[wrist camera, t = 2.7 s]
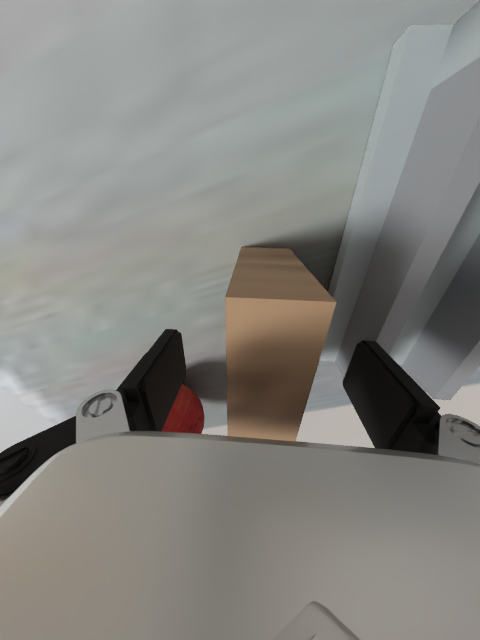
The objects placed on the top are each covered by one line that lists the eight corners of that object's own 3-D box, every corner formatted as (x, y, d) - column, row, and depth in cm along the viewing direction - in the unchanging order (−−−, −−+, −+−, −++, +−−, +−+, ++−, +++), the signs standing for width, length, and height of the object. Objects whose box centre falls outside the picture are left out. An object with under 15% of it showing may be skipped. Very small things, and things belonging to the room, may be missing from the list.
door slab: (241, 246, 12) (225, 297, 5) (289, 248, 12) (336, 302, 5) (239, 347, 16) (227, 450, 9) (275, 349, 16) (291, 455, 9)
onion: (219, 376, 18) (198, 481, 11) (201, 410, 21) (175, 512, 14) (158, 354, 17) (93, 453, 10) (147, 393, 20) (91, 492, 13)
